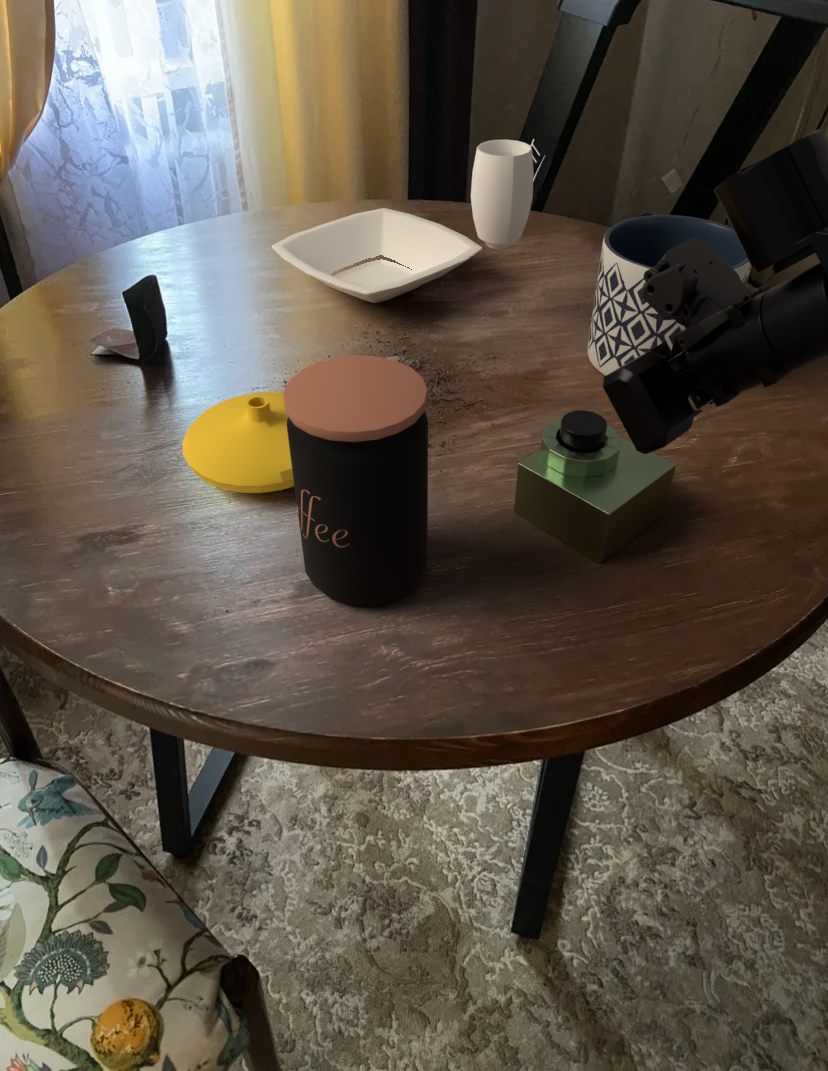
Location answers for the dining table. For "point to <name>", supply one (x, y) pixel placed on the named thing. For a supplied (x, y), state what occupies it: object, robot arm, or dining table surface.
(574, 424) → the button
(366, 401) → the coffee jar
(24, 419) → the dining table surface
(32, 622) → the dining table surface
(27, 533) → the dining table surface
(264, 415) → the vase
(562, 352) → the dining table surface
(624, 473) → the push button box
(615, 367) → the planter
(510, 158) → the cup
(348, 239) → the bowl
